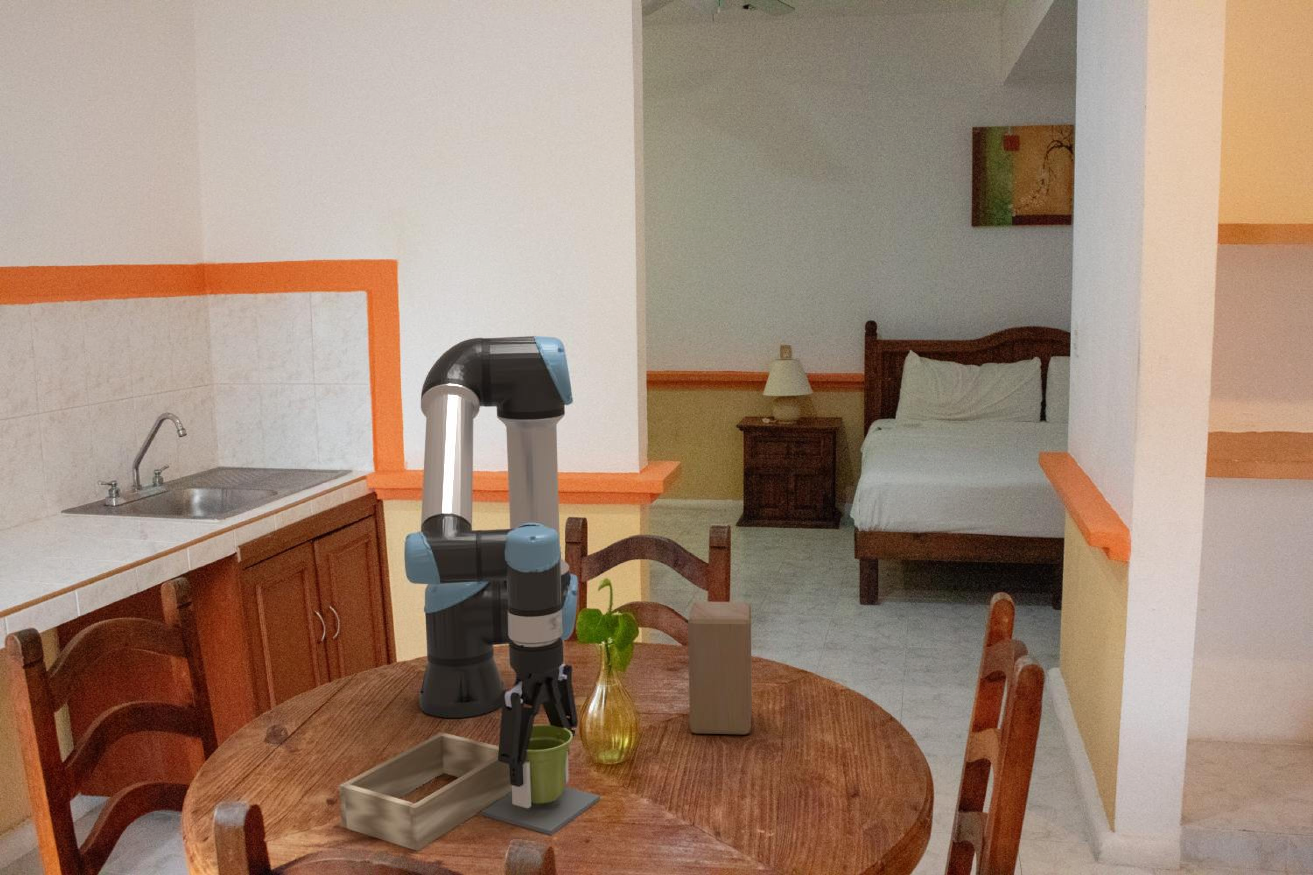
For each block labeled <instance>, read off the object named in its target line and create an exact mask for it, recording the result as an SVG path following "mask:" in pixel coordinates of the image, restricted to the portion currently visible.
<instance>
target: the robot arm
mask: <svg viewBox="0 0 1313 875" xmlns="http://www.w3.org/2000/svg"><path fill="white" fill-rule="evenodd" d="M565 350H566V349H565V346H564V343H563V342H562V340H561V339H559V338H557V337H554V336H540V335H539V336H537V335H532V336H531V335H528V336H508V337H488V338H487V337H485V338H484V337H474V338H468V339H465V340H463V341H460V342H458V343H456V344H455V345H453V346H451V347H450V348H449V349H448V350H446V351H444V352H443V354H442V355H440V356H439V358H438V359H436V361H435V363H434V364H433V365H432V366H431V368H430V370H429V371H428V372H427V375H426V376H425V379H424V382H423V384H422V388H421V393H420V410H421V412H422V414H423V415H424V417H425V421H426V422H425V436H424V437H425V439H424V440H425V441H424V456H423V458H424V460H423V474H422V476H423V478H422V480H423V481H422V495H421V496H422V497H421V498H422V500H421V520H420V531H417V532H410V533H408V534H407V535H406V536H405V541H404V548H403V549H404V553H403V554H404V556H403V557H404V572H405V575H406V578H407V581H409V582H410V583H411V584H414V585H416V584H417V585H426V587H425V588H424V589H425V590H424V607H423V612H424V613H425V631H426V632H425V634H426V635H425V637H426V655H427V659H426V660H427V661H426V662H427V664H426V668H425V671H424V674H423V678H422V682H421V688H420V690H419V693H418V701H419V709H420V710H421V711H422V710H423V711H424V712H423V711H422V712H423V713H425V714H428V715H430V716H433V717H438V718H445V719H446V718H447V719H448V718H449V719H456V718H457V719H459V718H471V717H476V716H480V715H484V713H485V714H487V713H490V712H492V711H495V710H497V709H499V708H500V707H501V716H500V717H501V718H500V727H499V728H500V730H499V742H498V746H499V752H498V761H499V762H503V763H507V764H509V767H510V783H511V785H512V791H511V792H512V804H514V805H517V806H521V807H525V808H529V807H531V785H530V762H529V761H525V760H526V755H527V752H526V750H528V746H529V742H530V737H531V733H532V728H533V725H534V723H535V720H536V719H535V718H536V716H537V715H538V714H539V713H540V710H541V705H542V706H543V709H544V712H545V715H546V717H547V720H548V722H549V725H552V726H555V727H560V728H567V729H568V730H570V731H571V733H572V735H573V738H574V737H575V736H576V730H575V728H577V727H578V723H579V720H578V714H577V708H576V702H575V701H576V700H575V695H574V689H573V682H572V681H573V680H572V679H573V678H572V677H573V676H572V674H573V673H572V672H573V667H572V665H571V664H566V663H564V641H567V640H568V639H569V638H570V637H571V636H572V635H573V632H574V628H575V623H576V622H575V621H576V614H577V606H578V589H579V588H578V587H579V586H578V585H579V584H578V583H579V581H578V580H579V579H578V576H577V574H574V573H570V565H569V563H567V562H566V561H565V559H563V558H562V551H561V548H562V547H561V540H560V539H561V538H560V506H559V503H560V502H559V501H560V500H559V473H558V472H559V471H558V469H559V468H558V467H559V466H558V440H557V438H558V437H557V436H558V435H557V425H558V423H559V422H560V421H561V420H562V419H563V418H564V417H565V414H566V412H565V409H566V408H565V406H570V405H571V404H573V401H574V398H573V392H572V386H571V377H570V372H569V367H568V366H569V365H568V360H567V354H566V351H565ZM482 407H486V408H487V407H488V408H490V407H492V408H493V407H496V418H497V419H498V420H499V421H500V422H502V423H503V425H504V426H505V427H506V431H505V432H506V454H507V477H508V478H507V481H508V503H509V505H508V506H509V507H508V508H509V528H505V529H504V528H503V529H499V528H498V529H476V530H475V529H474V530H473V493H474V492H473V487H474V486H473V484H474V483H473V482H474V480H473V477H474V476H473V475H474V473H473V471H474V419H475V418H476V417H477V416H478V414H479V412H480V410H481V409H480V408H482ZM497 645H498V646H499V645H508V652H509V653H508V654H509V655H508V656H509V665H510V667H511V669H512V670H513V671H514V672H515V680H514V685H513V686H514V687H513V688H511V689H510V690H506V686H505V684H504V682H503V681H502V677H501V675H500V672H499V669H498V666H497V661H496V660H495V654H494V653H495V652H494V646H497ZM524 705H526V706H524ZM529 706H530V707H529ZM573 728H574V729H573ZM518 753H519V755H518ZM569 753H570V748H569V749H568V751H567V757H566V766H565V776H564V783H568V782H569V781H570V780H569V779H570V777H569V774H570V773H569Z"/></svg>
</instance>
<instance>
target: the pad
mask: <svg viewBox="0 0 1313 875" xmlns="http://www.w3.org/2000/svg"><path fill="white" fill-rule="evenodd" d="M599 801H601V796H600V795H598V794H594V793H591V792H588V791H583V790H581V789H580V790H579V789H575V788H571V787H567V786H564V785H563V794H562V795H561V796H559V797H558V798H557V799H556V800H554V801H552V802H547V803H533V802H532V801H531V807H529V808H525V807H521V806H517V805H514V804H512V791H511V792H510V793H508V794H506V795H505V796H503V797H502V798H500V799H499V800H497V801H495V802H494V803H492V804H491V805H489V806H488V807H486V808H484V809H483V810H481V816H483V817H487V818H489V819H493V820H497V821H501V822H504V823H508V824H509V825H511V824H512V825H515V826H518V827H521V828H525V829H527V830H532V831H536V832H538V833H541V834H545V835H549V836H552V835H554V834H555V833H556V832H558V831H559V830H560V829H561V828H564V827H565V826H566V825H567V824H569V823H570V822H571V821H573V820H574V819H575V818H577V817H578V816H580V815H581V814H583V813H584V812H586V811H587V810H588V809H590V808H592V806H593V805H595V804H596V803H598V802H599Z"/></svg>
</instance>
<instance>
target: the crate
mask: <svg viewBox="0 0 1313 875" xmlns="http://www.w3.org/2000/svg"><path fill="white" fill-rule="evenodd" d="M498 752H499V745H495V744H491V743H487V742H482V741H479V740H475V739H471V738H466V737H462V736H458V735H454V734H450V733H445V732H443V731H442V732H439V733H437V734H435V735H433V736H431V737H429V738H428V739H426V740H424V741H422V742H420V743H418V744H416V745H414V746H412V747H410V748H407V749H406V750H404V751H402V752H400V753H399V754H397V755H395V756H392V757H391V758H390V759H387V760H385V761H384V762H381V763H380V764H378V765H376V766H374V767H371V768H370V769H368V770H366V771H364V772H362V773H361V774H359V775H357V776H355V777H353V778H351V779H349V780H347V781H345V782H343V783H341V784H339V786H338V788H339V789H338V790H339V807H340V820H341V821H340V823H341V824H340V825H341V827H342V828H345V829H348V830H350V831H354V832H357V833H360V834H363V835H366V836H370V837H372V838H375V839H376V838H377V839H379V840H382V841H385V842H389V843H392V844H394V845H396V846H400V847H404V848H406V849H411V850H412V851H413V850H414V851H416V852H418V851H420V850H422V849H423V848H425V847H426V846H428V845H430V844H431V843H432V842H434V841H436V840H437V839H439V838H440V837H442V836H444V835H445V834H447V833H449V832H450V831H451V830H453V829H455V828H457V827H458V826H459V825H461V824H463V823H464V822H466V821H467V820H469V819H470V818H471V817H474V816H476V815H477V814H478V813H480V812H482V811H483V810H484V809H486V808H488V807H489V806H491V805H492V804H494V803H495V802H497V801H499V800H500V799H502V798H503V797H505V796H506V795H508V794H509V793H511V792H512V785H511V783H510V767H509V764H507V763H503V762H499V761H498ZM443 774H445V775H449V776H453V777H456V778H457V779H454V780H453V781H452V782H450V783H449V782H448V784H446V785H444V786H443V787H441V788H439V789H437V790H435V791H434V792H433V793H431V794H429V795H427V796H425V797H424V798H422V799H421V800H419V801H417V802H412V801H408V800H404V799H401V798H403V797H405V796H406V795H408V794H409V793H412V792H413V791H415V790H416V788H417V789H418V788H421V786H424V785H425V784H427V783H429V782H430V780H431V781H432V780H434V779H436V778H438V777H440V776H441V775H443ZM437 776H438V777H437ZM435 777H436V778H435ZM423 784H424V785H423Z"/></svg>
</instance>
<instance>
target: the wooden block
mask: <svg viewBox="0 0 1313 875" xmlns="http://www.w3.org/2000/svg"><path fill="white" fill-rule="evenodd" d="M688 617H689V618H688V621H687V625H688V628H687V630H688V634H687V635H688V636H687V637H688V683H689V684H688V694H689V695H688V696H689V698H688V702H689V729H690V731H691V733H693V734H709V735H710V734H711V735H714V734H716V735H717V734H718V735H748V734H749V733H750V731H751V729H752V712H753V711H752V708H753V707H752V703H753V702H752V608H751V605H750V603H748V602H745V601H695V602H693V603H692V605H691V609H690V613H689V616H688Z"/></svg>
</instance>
